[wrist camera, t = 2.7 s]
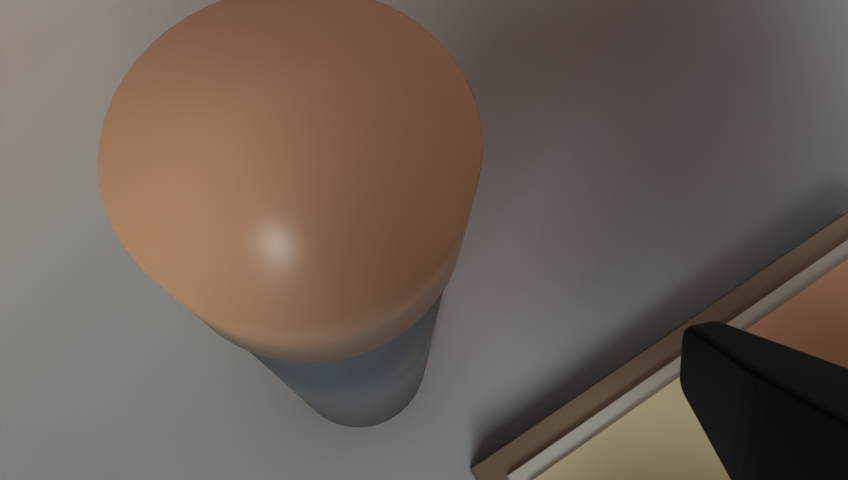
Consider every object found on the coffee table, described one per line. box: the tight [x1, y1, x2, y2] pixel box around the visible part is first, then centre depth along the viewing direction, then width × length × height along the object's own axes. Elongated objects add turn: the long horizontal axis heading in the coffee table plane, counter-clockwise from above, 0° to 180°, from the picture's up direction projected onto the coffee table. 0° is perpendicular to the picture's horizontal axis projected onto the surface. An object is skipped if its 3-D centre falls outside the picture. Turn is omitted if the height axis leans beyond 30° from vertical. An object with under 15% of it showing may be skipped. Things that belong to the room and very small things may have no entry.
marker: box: [98, 0, 482, 427], centre depth 12 cm, size 4×4×12 cm
